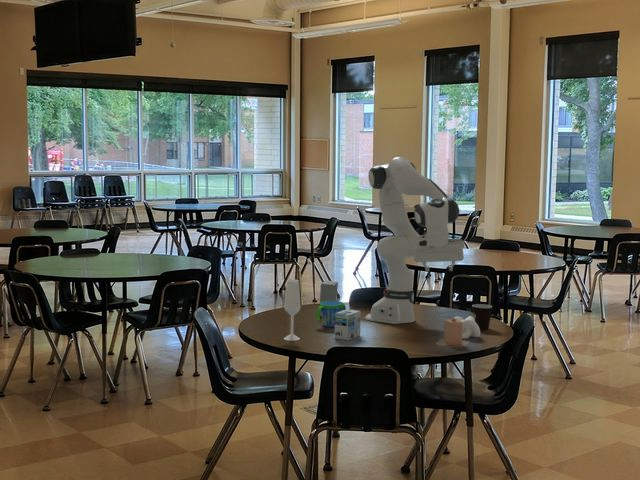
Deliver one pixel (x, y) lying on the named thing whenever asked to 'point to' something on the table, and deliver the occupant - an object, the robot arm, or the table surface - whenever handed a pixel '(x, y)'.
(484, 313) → the coffee mug
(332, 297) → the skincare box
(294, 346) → the table surface
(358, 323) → the light bulb box
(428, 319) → the table surface
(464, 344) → the board
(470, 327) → the white lumpy piece
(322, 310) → the snack cup
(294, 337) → the champagne flute
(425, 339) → the table surface
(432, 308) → the table surface
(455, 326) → the pink juice box
